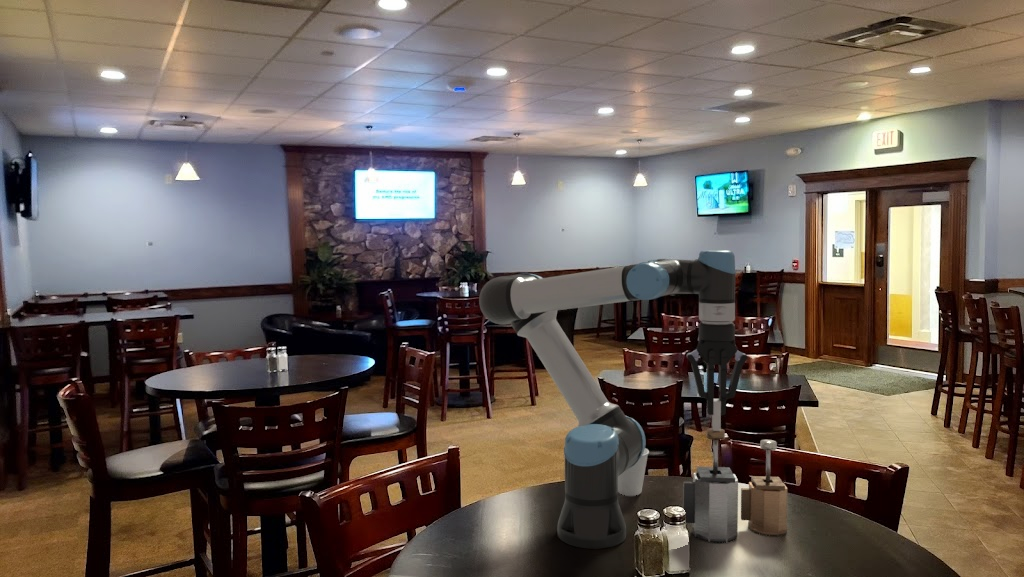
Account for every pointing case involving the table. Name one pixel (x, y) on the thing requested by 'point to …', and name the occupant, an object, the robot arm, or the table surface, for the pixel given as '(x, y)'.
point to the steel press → (712, 505)
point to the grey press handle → (768, 455)
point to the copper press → (765, 506)
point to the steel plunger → (715, 447)
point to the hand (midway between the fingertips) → (716, 429)
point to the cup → (633, 477)
